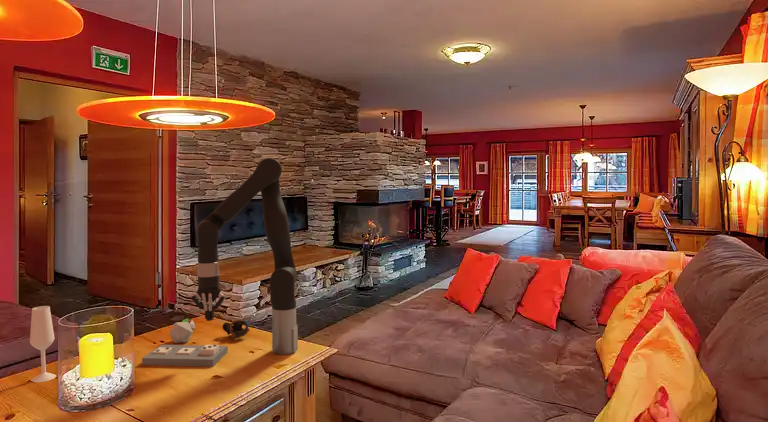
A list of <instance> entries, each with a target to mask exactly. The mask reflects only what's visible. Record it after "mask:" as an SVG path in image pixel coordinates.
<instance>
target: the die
mask: <svg viewBox="0 0 768 422" xmlns="http://www.w3.org/2000/svg"><path fill="white" fill-rule="evenodd" d="M193 333H194V330H193V331H192V329H191V327H190V324H189V322H180V321H179V322H174V324H173V325H172V327H171V329H170V331H169V335H170V337H171V339H172V342H173V343H174V344H178V343H179V344H182V343H188V342H189V340H190V339H191V336H192V334H193Z"/></svg>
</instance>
